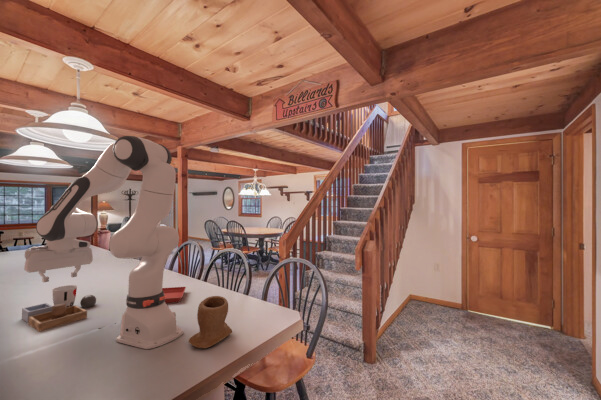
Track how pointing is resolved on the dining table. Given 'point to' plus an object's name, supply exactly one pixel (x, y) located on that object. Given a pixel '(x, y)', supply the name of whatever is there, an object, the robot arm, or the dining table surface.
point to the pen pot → (35, 311)
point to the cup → (64, 295)
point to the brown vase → (211, 322)
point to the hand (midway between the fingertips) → (60, 279)
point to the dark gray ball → (88, 301)
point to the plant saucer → (173, 294)
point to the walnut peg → (58, 311)
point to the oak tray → (46, 322)
